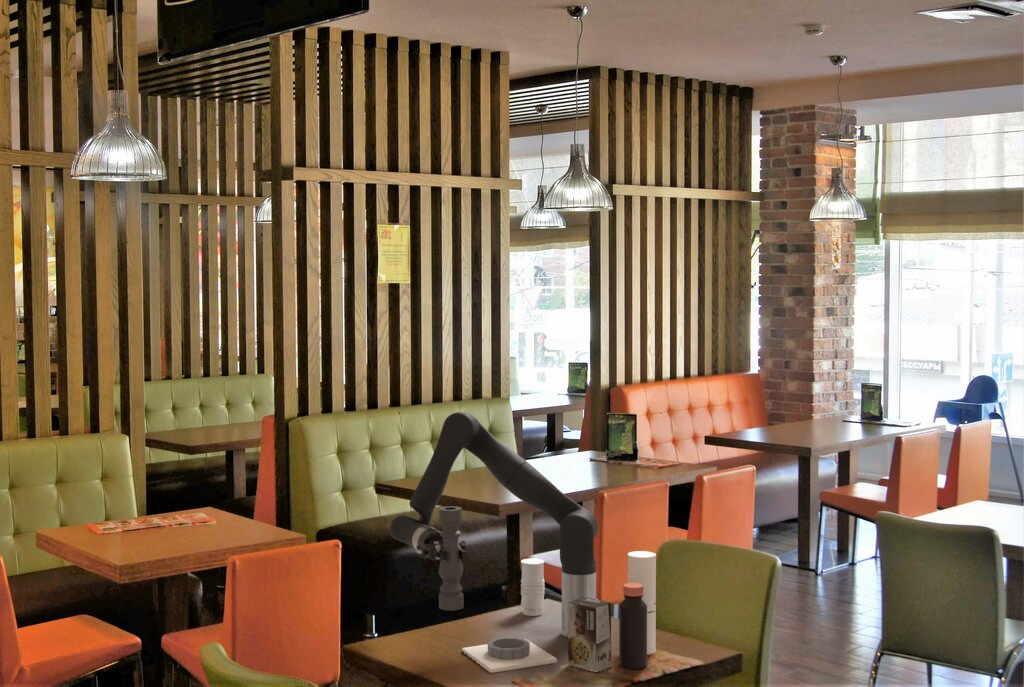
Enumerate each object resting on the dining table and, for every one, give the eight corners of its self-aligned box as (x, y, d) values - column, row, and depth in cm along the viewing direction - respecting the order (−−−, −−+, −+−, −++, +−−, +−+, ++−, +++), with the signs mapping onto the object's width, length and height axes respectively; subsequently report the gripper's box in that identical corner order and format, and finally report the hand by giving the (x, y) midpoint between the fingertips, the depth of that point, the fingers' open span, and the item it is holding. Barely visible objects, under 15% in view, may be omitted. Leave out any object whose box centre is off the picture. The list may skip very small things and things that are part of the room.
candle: (549, 612, 326) (549, 561, 325) (533, 617, 321) (533, 565, 320) (532, 608, 331) (532, 557, 330) (515, 612, 326) (515, 561, 325)
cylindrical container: (659, 648, 293) (659, 552, 292) (650, 656, 286) (650, 558, 285) (632, 644, 296) (633, 550, 295) (623, 652, 289) (624, 555, 288)
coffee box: (612, 667, 278) (612, 602, 278) (596, 673, 273) (596, 607, 273) (583, 659, 284) (583, 595, 284) (567, 665, 280) (567, 601, 279)
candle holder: (460, 611, 281) (459, 511, 280) (436, 609, 282) (435, 510, 281) (466, 604, 287) (465, 506, 286) (442, 603, 288) (441, 505, 287)
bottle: (629, 671, 275) (629, 590, 274) (613, 663, 281) (614, 583, 280) (652, 667, 278) (652, 586, 277) (636, 659, 284) (637, 580, 283)
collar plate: (525, 642, 298) (525, 629, 298) (556, 662, 282) (556, 648, 282) (462, 651, 290) (462, 638, 290) (490, 672, 274) (490, 658, 274)
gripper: (404, 530, 294) (428, 544, 278) (455, 525, 300) (481, 538, 284) (405, 559, 294) (428, 574, 279) (455, 553, 300) (481, 568, 285)
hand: (455, 556), depth 282 cm, fingers closed on candle holder, 3 cm apart
